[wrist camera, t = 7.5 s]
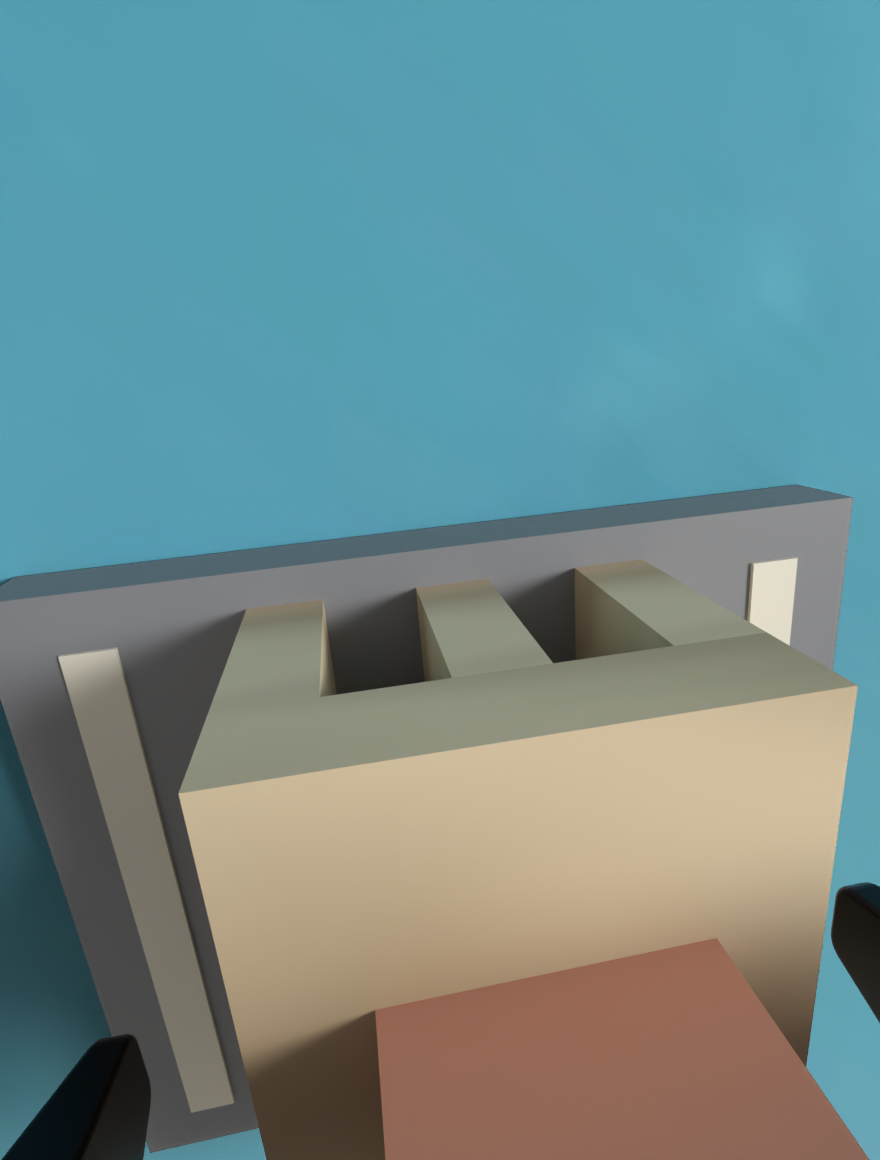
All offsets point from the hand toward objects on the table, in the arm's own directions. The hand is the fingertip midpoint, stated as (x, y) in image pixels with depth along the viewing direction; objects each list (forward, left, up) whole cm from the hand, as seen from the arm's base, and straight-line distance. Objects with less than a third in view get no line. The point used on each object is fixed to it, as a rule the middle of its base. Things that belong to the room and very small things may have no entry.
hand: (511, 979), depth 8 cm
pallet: (0, 0, -2) cm, 2 cm away
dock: (0, 0, -4) cm, 4 cm away
